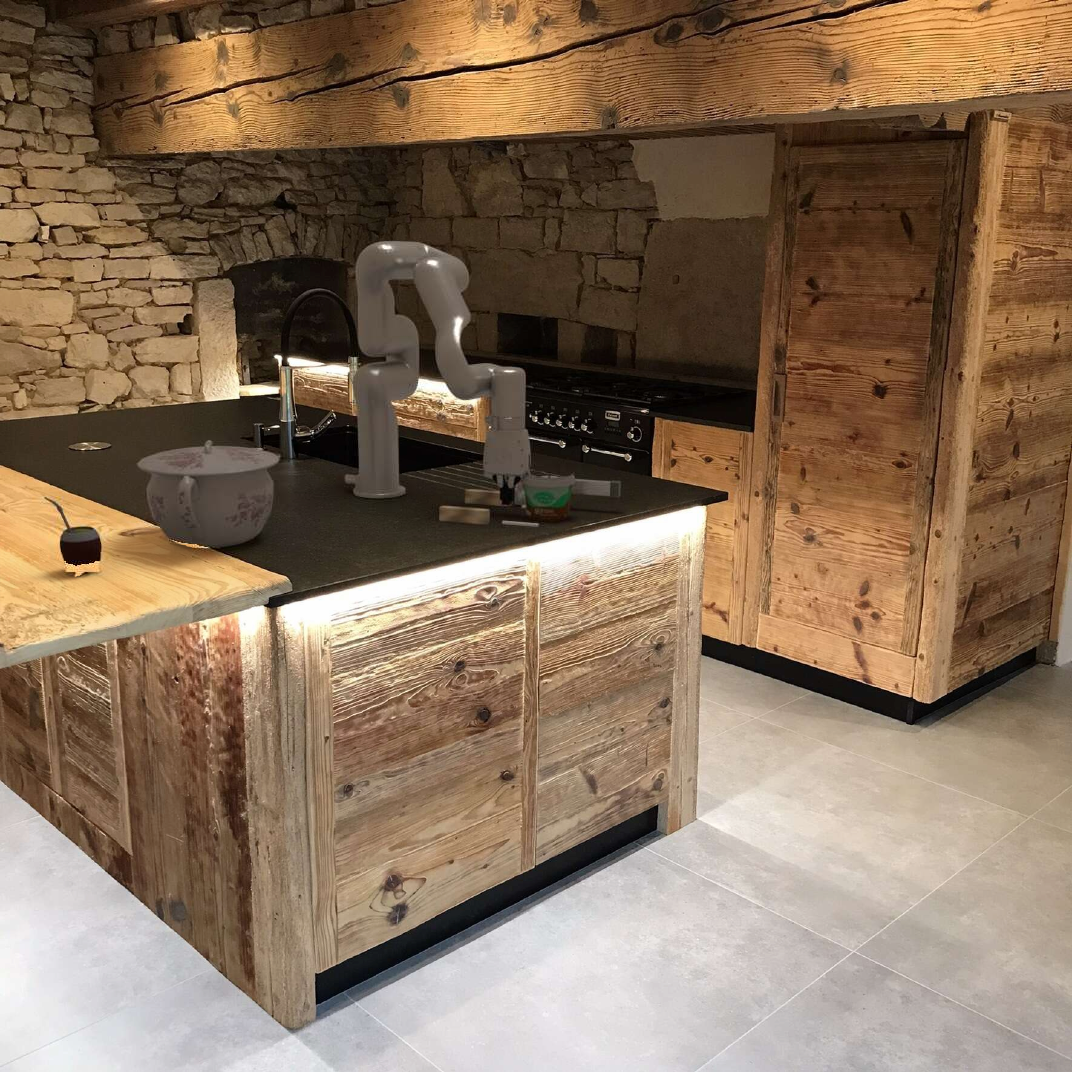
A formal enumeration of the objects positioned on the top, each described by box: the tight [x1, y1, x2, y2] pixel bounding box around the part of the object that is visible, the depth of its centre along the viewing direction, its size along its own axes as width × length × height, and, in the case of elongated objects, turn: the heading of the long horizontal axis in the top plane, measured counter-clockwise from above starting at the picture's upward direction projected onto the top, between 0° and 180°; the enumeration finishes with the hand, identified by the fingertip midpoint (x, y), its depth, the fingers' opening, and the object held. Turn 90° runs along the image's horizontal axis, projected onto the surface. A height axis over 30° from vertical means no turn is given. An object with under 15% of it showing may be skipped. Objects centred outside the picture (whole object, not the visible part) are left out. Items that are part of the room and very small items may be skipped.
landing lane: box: [501, 504, 540, 528], centre depth 246 cm, size 8×17×1 cm, turn 165°
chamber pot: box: [136, 439, 281, 547], centre depth 220 cm, size 28×28×21 cm
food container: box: [521, 473, 576, 522], centre depth 242 cm, size 12×6×10 cm, turn 92°
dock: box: [438, 488, 513, 526], centre depth 249 cm, size 11×20×3 cm, turn 165°
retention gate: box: [514, 475, 622, 506], centre depth 253 cm, size 2×25×8 cm, turn 75°
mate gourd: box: [44, 496, 103, 566], centre depth 198 cm, size 8×8×15 cm
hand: (506, 503), depth 247 cm, fingers closed
